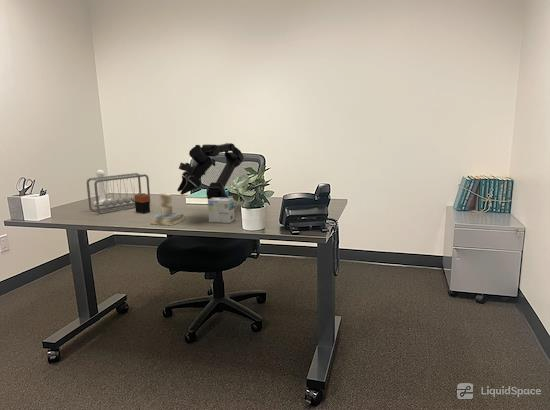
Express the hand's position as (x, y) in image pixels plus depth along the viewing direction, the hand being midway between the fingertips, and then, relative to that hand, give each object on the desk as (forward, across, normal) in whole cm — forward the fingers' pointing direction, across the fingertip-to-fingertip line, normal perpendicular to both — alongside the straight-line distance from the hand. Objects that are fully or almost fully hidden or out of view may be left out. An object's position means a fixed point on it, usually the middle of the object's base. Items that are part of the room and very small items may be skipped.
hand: (179, 192), depth 191 cm
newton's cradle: (+27, -42, -9) cm, 51 cm away
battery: (+20, -27, -1) cm, 34 cm away
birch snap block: (+12, 0, +2) cm, 12 cm away
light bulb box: (-2, +9, +22) cm, 24 cm away
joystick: (+33, -57, -14) cm, 67 cm away
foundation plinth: (+14, 0, +5) cm, 15 cm away
